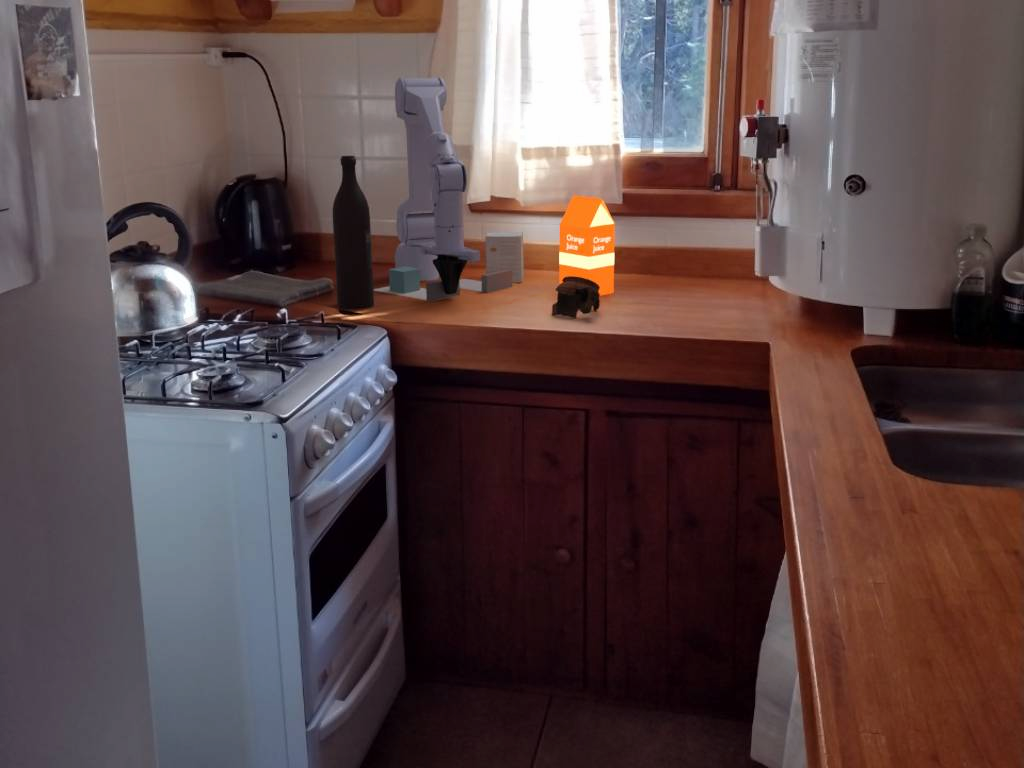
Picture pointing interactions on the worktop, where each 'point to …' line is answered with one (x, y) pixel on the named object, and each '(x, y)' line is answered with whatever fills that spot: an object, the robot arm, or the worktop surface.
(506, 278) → the grey l-shaped block
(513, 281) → the small box
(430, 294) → the grey piece
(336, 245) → the wine bottle
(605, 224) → the orange juice
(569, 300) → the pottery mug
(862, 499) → the worktop surface
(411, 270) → the teal block
